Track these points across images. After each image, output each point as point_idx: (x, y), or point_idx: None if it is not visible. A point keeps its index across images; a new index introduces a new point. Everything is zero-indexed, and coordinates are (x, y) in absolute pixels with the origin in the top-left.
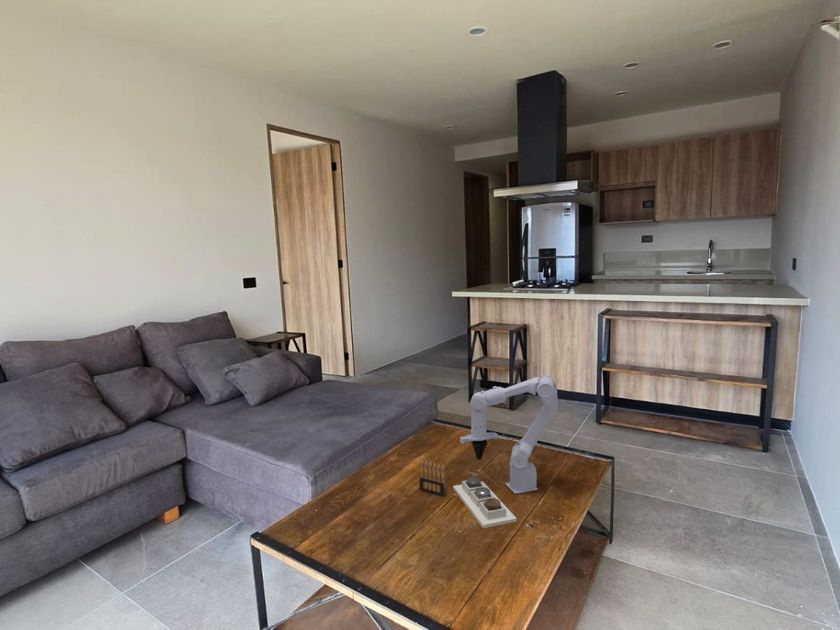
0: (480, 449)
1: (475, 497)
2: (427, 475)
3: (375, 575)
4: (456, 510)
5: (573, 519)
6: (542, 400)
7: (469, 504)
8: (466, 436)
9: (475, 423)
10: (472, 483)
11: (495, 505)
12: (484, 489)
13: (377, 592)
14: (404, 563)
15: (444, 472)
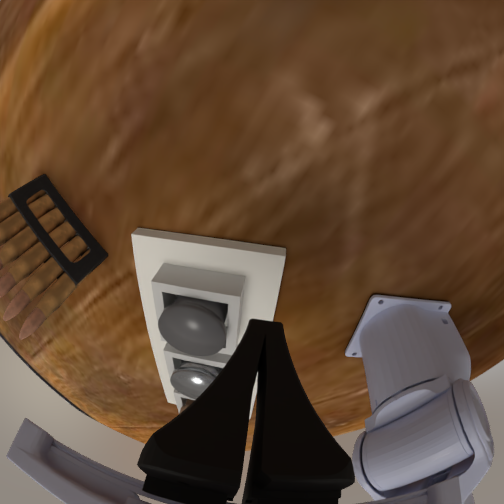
0: (254, 431)
1: (169, 376)
2: (12, 236)
3: (33, 362)
4: (125, 334)
5: (358, 428)
6: None
7: (158, 351)
8: (64, 498)
9: None
10: (176, 347)
11: None
12: (206, 386)
13: (42, 377)
14: (53, 370)
15: (45, 319)
